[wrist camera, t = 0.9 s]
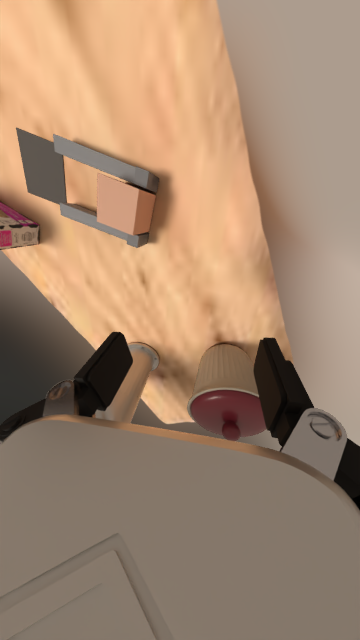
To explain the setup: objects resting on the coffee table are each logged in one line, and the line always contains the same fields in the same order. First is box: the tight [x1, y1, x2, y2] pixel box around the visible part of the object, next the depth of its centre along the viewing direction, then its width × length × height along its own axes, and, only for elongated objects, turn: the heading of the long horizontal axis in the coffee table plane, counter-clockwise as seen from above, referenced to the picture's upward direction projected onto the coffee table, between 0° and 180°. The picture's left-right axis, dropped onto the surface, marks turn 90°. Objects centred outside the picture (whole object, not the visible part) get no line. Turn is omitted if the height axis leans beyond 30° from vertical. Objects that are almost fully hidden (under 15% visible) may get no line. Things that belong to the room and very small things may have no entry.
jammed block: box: [97, 173, 156, 235], centre depth 27 cm, size 6×6×8 cm
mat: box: [16, 128, 66, 205], centre depth 30 cm, size 9×8×1 cm
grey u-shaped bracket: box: [53, 134, 159, 248], centre depth 28 cm, size 11×16×6 cm
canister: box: [187, 344, 267, 441], centre depth 39 cm, size 18×18×21 cm
